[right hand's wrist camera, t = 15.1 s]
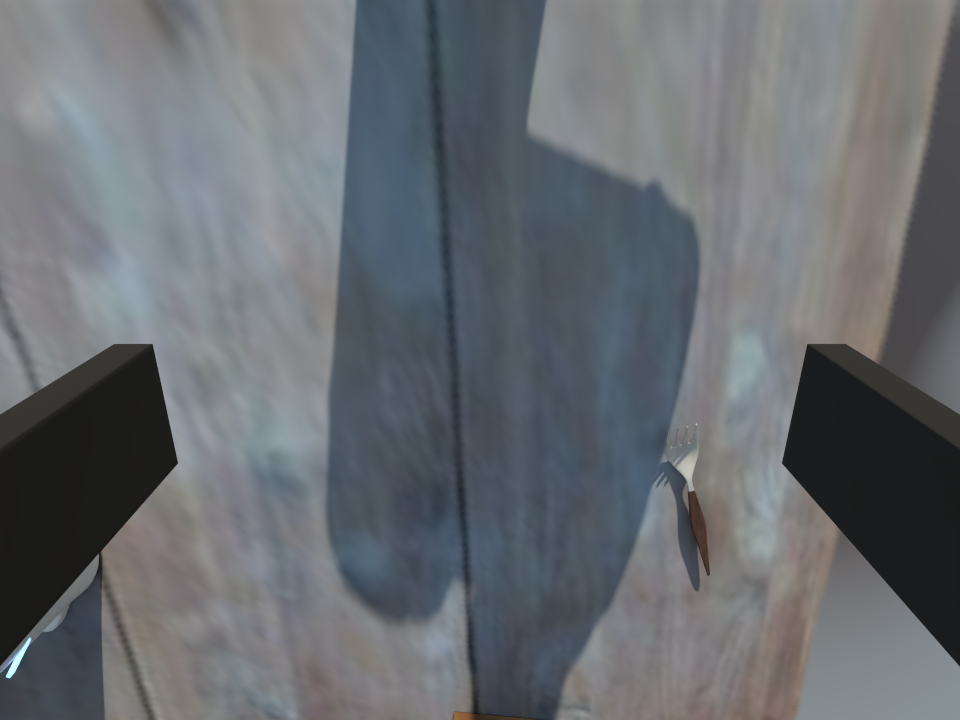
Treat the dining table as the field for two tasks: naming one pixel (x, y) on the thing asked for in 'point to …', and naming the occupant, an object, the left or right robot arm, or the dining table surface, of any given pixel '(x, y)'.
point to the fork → (690, 486)
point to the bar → (483, 717)
